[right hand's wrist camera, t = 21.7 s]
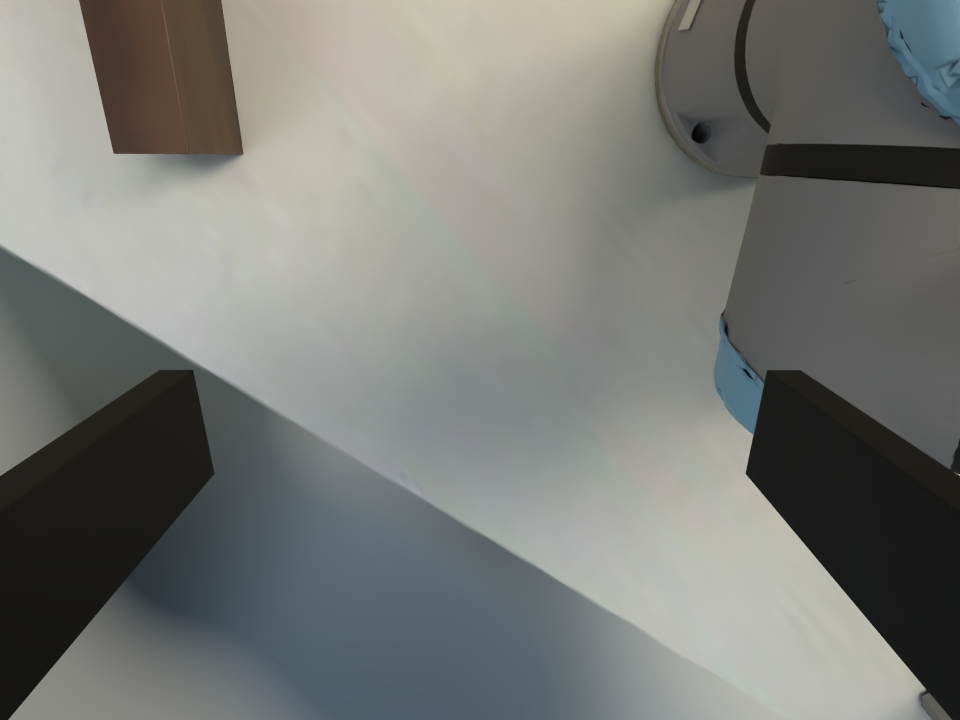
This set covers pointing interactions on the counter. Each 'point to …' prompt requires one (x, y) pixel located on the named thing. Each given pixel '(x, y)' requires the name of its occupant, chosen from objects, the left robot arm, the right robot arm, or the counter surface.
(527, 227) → the counter surface
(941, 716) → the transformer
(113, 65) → the beam
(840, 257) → the right robot arm
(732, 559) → the counter surface
